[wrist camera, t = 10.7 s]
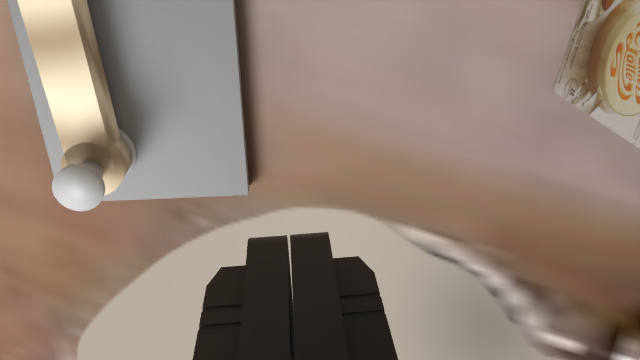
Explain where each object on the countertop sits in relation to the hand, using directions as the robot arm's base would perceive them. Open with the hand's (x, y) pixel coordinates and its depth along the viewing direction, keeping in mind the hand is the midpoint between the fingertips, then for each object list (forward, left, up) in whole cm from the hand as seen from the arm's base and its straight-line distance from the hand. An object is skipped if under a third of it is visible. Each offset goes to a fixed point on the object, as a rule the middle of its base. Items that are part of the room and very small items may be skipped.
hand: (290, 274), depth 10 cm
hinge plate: (+1, -10, -29) cm, 31 cm away
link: (+2, -13, -27) cm, 30 cm away
